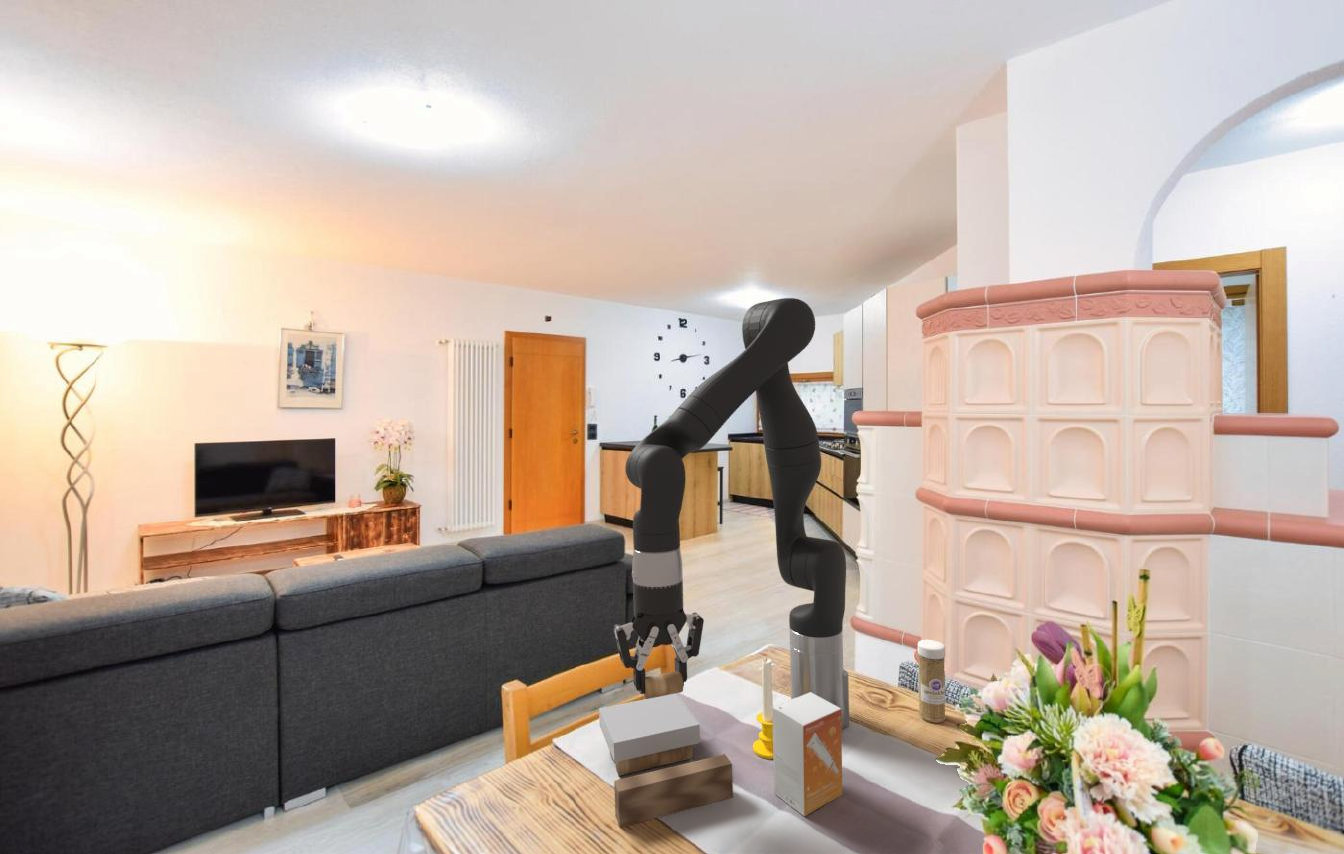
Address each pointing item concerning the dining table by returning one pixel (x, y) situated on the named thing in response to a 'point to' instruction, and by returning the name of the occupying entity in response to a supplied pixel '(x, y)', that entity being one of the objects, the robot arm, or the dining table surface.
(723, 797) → the rail
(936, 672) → the sprinkles bottle
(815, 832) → the dining table surface
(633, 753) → the slab
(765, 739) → the candle
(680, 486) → the robot arm
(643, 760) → the roller
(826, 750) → the small box
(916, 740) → the dining table surface
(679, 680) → the roller
